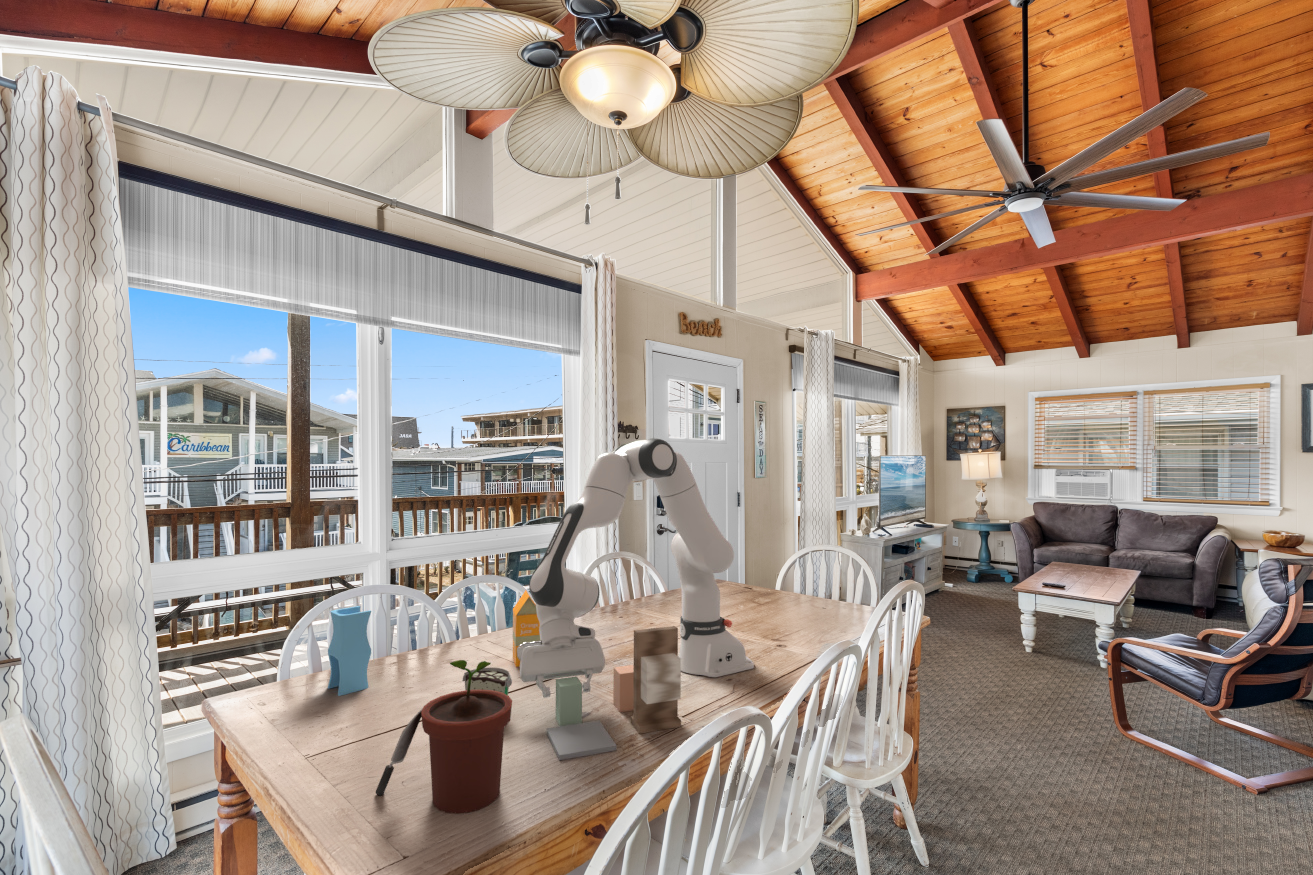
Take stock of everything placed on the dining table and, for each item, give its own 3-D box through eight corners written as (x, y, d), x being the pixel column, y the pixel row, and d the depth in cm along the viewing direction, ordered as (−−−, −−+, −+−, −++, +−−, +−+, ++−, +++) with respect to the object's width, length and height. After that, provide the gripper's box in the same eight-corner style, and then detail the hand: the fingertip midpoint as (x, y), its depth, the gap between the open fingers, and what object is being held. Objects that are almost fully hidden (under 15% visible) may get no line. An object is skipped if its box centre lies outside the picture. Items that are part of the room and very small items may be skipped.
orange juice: (538, 654, 190) (538, 588, 191) (542, 664, 182) (542, 595, 182) (511, 657, 188) (512, 590, 188) (514, 666, 179) (515, 597, 180)
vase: (370, 687, 163) (371, 610, 164) (338, 695, 158) (340, 616, 158) (358, 679, 169) (359, 605, 169) (327, 687, 163) (328, 610, 163)
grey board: (599, 724, 142) (599, 720, 142) (616, 750, 130) (616, 745, 130) (546, 732, 137) (546, 728, 137) (559, 760, 125) (559, 755, 125)
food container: (521, 712, 148) (522, 670, 148) (507, 723, 142) (507, 678, 142) (477, 705, 152) (478, 664, 152) (461, 715, 146) (462, 672, 147)
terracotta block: (632, 701, 155) (632, 664, 155) (639, 708, 150) (639, 671, 151) (613, 704, 153) (613, 667, 154) (619, 711, 149) (619, 673, 149)
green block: (576, 714, 147) (576, 676, 147) (581, 723, 142) (582, 683, 142) (555, 718, 145) (555, 679, 145) (560, 726, 140) (560, 686, 141)
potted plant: (449, 837, 100) (451, 680, 101) (373, 794, 112) (375, 654, 113) (531, 788, 115) (532, 651, 115) (455, 755, 127) (457, 631, 128)
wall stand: (670, 715, 146) (671, 623, 147) (684, 730, 139) (684, 632, 139) (630, 722, 143) (630, 627, 143) (642, 737, 135) (642, 637, 136)
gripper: (517, 636, 148) (523, 693, 139) (600, 628, 155) (611, 681, 146) (514, 649, 152) (520, 705, 143) (595, 641, 159) (606, 694, 150)
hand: (567, 693), depth 144 cm, fingers open, 8 cm apart
